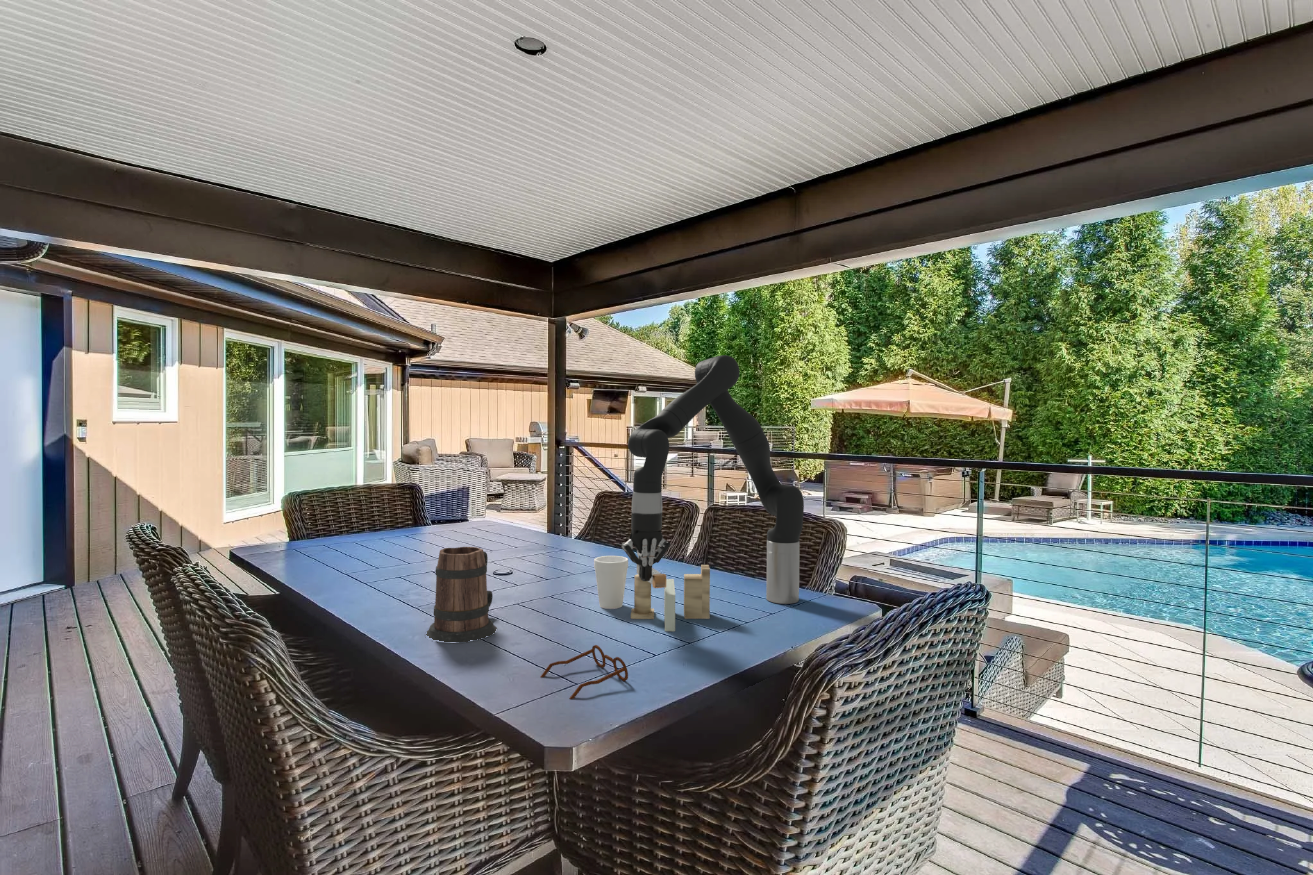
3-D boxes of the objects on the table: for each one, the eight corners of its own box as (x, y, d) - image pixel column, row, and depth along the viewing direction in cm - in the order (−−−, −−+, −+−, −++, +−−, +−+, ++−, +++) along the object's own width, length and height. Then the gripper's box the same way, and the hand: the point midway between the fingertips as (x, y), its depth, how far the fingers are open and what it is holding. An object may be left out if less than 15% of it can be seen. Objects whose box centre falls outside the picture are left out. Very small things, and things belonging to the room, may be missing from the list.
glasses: (629, 685, 128) (629, 660, 128) (570, 701, 120) (570, 674, 120) (595, 664, 138) (595, 641, 138) (539, 678, 131) (539, 653, 131)
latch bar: (635, 574, 173) (635, 557, 173) (646, 573, 174) (646, 556, 174) (654, 588, 159) (654, 569, 158) (666, 587, 159) (666, 568, 159)
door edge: (664, 612, 175) (664, 578, 175) (673, 612, 175) (673, 579, 175) (664, 631, 159) (665, 594, 159) (675, 631, 159) (675, 594, 159)
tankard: (478, 645, 149) (478, 558, 148) (410, 640, 152) (410, 555, 151) (518, 615, 172) (518, 540, 171) (459, 612, 175) (459, 537, 174)
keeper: (683, 612, 175) (684, 564, 175) (708, 613, 175) (708, 564, 175) (684, 618, 170) (684, 568, 170) (709, 618, 170) (709, 569, 170)
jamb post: (631, 612, 175) (631, 573, 175) (654, 612, 175) (654, 573, 175) (630, 618, 169) (631, 578, 169) (653, 618, 169) (654, 578, 169)
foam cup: (600, 612, 175) (600, 563, 175) (589, 603, 184) (589, 557, 183) (633, 608, 179) (633, 561, 179) (621, 599, 188) (621, 554, 187)
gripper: (664, 507, 167) (662, 575, 167) (616, 509, 161) (614, 579, 161) (677, 511, 160) (676, 581, 160) (628, 513, 154) (626, 586, 155)
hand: (645, 580), depth 161 cm, fingers closed
